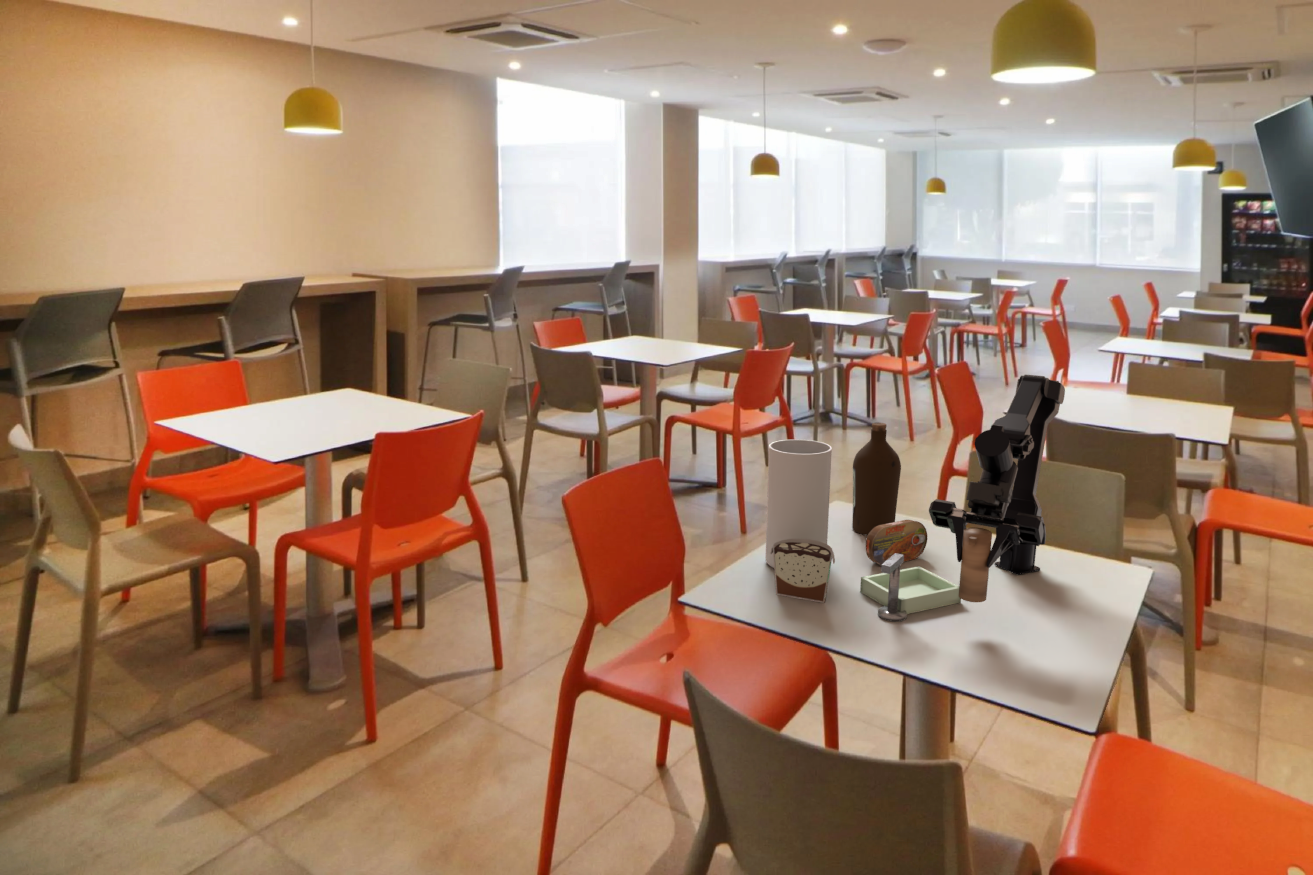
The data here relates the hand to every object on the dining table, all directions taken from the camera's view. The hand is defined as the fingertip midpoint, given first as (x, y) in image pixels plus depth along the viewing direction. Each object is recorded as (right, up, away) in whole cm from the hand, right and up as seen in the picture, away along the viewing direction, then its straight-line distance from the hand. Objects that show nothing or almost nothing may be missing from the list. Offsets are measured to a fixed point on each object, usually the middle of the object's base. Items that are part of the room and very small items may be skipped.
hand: (973, 563), depth 163 cm
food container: (-26, -8, +19) cm, 33 cm away
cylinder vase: (-26, -5, +34) cm, 43 cm away
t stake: (-13, -11, +8) cm, 18 cm away
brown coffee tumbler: (+1, -6, +3) cm, 7 cm away
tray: (-6, -9, +17) cm, 20 cm away
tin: (-4, -4, +36) cm, 37 cm away
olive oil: (-5, 0, +55) cm, 55 cm away
